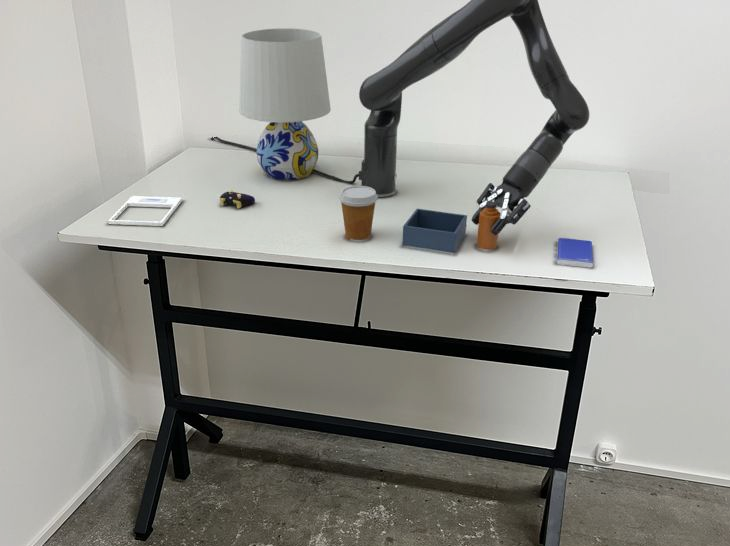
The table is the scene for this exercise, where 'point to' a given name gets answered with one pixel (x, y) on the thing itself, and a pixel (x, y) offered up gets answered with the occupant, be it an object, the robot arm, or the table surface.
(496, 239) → the bottle
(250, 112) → the table lamp
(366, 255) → the table surface
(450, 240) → the tote
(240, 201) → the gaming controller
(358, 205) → the disposable coffee cup
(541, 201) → the table surface
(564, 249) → the blue book
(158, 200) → the photo frame
